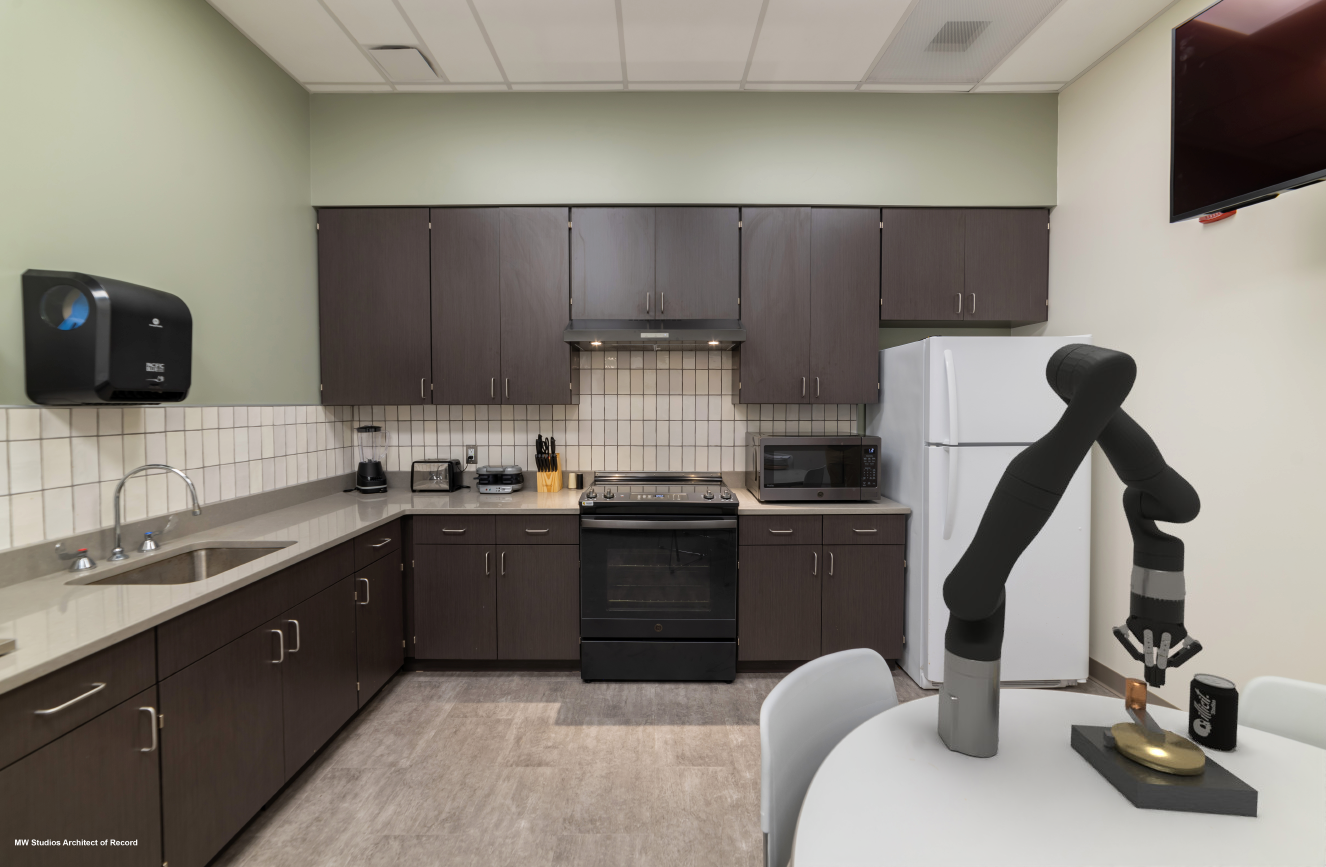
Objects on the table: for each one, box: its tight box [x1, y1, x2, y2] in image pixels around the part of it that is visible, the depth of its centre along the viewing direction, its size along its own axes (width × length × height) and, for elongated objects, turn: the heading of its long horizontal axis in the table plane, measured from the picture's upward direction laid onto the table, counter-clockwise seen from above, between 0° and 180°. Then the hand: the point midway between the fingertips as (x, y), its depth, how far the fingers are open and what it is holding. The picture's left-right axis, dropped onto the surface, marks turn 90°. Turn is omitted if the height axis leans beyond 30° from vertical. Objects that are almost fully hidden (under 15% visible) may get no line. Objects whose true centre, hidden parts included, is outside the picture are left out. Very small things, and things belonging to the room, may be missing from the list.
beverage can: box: [1187, 672, 1240, 752], centre depth 108 cm, size 7×7×12 cm
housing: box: [1070, 724, 1259, 818], centre depth 97 cm, size 17×17×4 cm
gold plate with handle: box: [1103, 677, 1206, 775], centre depth 99 cm, size 18×13×8 cm
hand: (1153, 685), depth 105 cm, fingers closed
